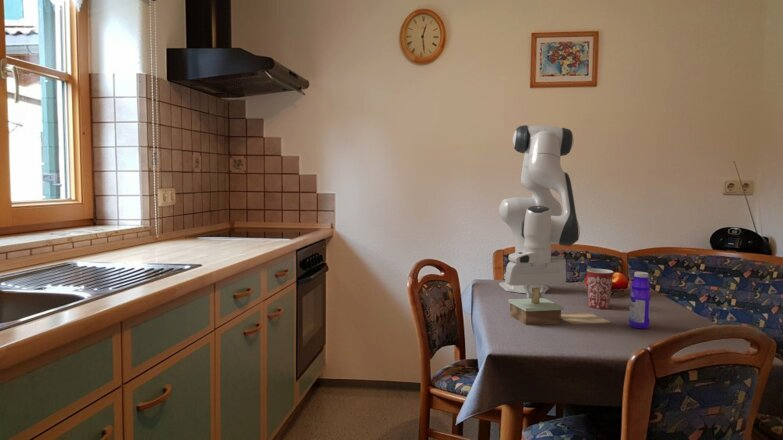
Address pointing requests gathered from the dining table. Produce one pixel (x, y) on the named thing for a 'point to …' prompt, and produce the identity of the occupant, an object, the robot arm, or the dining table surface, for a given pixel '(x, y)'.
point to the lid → (535, 303)
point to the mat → (582, 318)
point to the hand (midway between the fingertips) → (535, 298)
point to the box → (535, 316)
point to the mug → (599, 288)
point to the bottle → (640, 301)
